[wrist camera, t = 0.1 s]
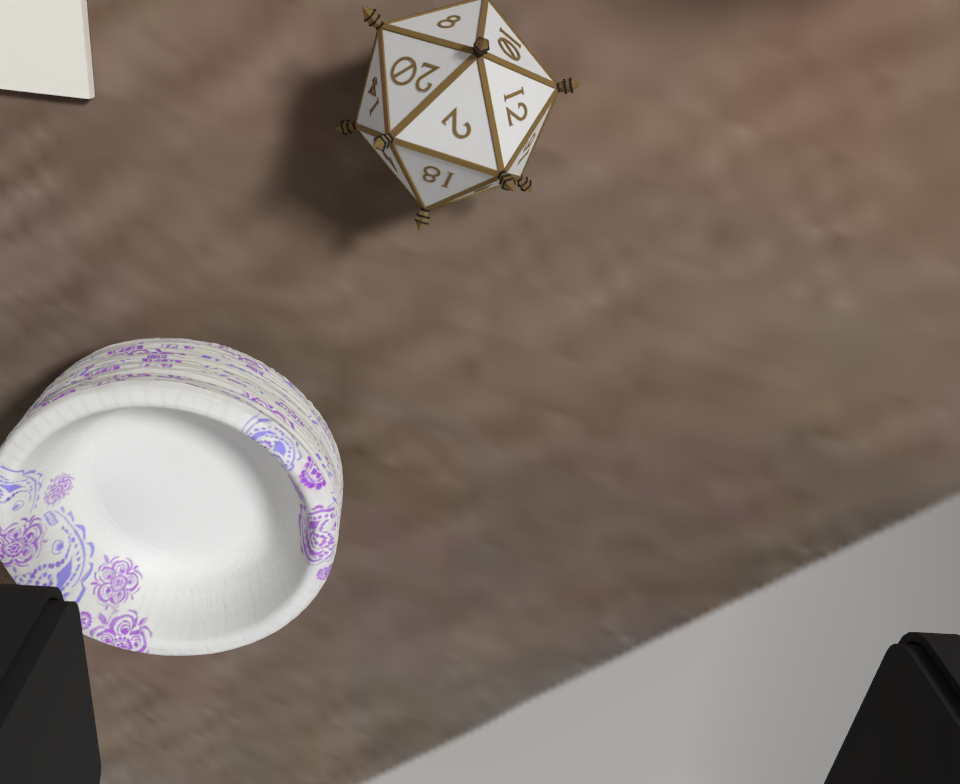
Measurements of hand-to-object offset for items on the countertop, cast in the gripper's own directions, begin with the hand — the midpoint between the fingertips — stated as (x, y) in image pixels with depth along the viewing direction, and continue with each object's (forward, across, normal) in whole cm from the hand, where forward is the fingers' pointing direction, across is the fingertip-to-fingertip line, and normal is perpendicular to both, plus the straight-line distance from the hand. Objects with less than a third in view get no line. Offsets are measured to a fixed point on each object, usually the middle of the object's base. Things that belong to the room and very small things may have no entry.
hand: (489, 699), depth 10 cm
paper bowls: (+32, +11, +17) cm, 37 cm away
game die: (+31, 0, -2) cm, 31 cm away
